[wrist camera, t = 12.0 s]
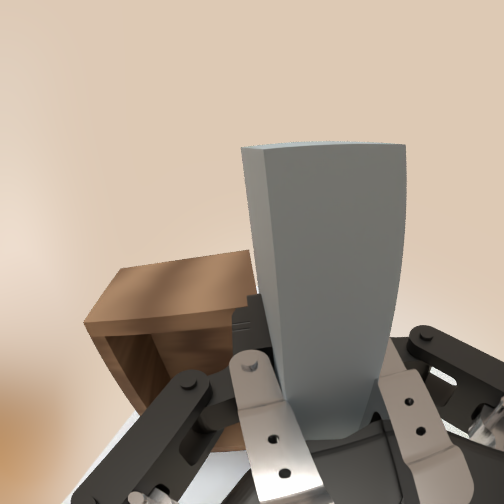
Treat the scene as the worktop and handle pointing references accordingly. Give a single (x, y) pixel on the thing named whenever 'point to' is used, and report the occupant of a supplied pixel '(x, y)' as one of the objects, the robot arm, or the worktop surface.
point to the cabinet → (171, 325)
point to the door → (327, 270)
